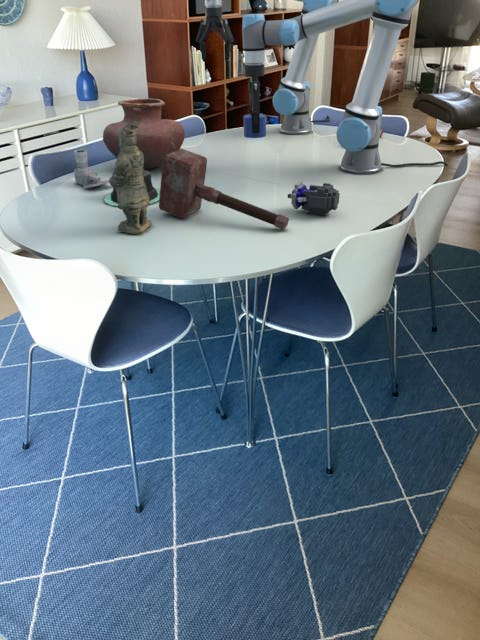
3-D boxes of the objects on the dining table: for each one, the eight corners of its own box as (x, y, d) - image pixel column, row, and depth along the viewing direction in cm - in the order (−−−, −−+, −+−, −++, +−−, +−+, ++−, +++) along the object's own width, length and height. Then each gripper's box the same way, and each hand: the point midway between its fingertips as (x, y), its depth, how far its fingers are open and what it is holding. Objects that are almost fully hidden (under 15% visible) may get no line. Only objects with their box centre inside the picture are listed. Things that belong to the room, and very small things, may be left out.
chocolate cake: (91, 202, 180) (113, 186, 197) (142, 231, 182) (160, 212, 199) (107, 162, 172) (129, 148, 190) (160, 192, 174) (177, 176, 192)
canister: (243, 138, 205) (242, 118, 201) (244, 133, 212) (243, 114, 208) (266, 137, 204) (265, 117, 201) (266, 133, 212) (266, 113, 208)
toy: (295, 178, 172) (342, 184, 166) (295, 205, 177) (340, 211, 171) (285, 186, 166) (333, 192, 160) (284, 213, 170) (331, 220, 164)
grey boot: (85, 147, 201) (110, 154, 192) (90, 179, 207) (114, 187, 198) (64, 151, 195) (89, 159, 186) (70, 184, 201) (94, 193, 193)
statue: (131, 220, 168) (117, 116, 152) (158, 224, 164) (147, 118, 149) (109, 233, 159) (93, 124, 144) (138, 237, 156) (124, 126, 140)
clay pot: (194, 158, 230) (190, 94, 217) (174, 179, 204) (168, 107, 192) (124, 156, 235) (116, 93, 222) (96, 176, 209) (85, 106, 197)
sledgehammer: (299, 190, 156) (179, 147, 167) (285, 200, 148) (161, 154, 160) (286, 244, 166) (174, 200, 177) (272, 256, 158) (156, 209, 170)
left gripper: (186, 7, 249) (189, 59, 260) (231, 6, 236) (232, 61, 247) (197, 6, 254) (199, 57, 265) (241, 6, 242) (242, 59, 252)
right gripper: (241, 61, 205) (243, 125, 216) (245, 67, 186) (246, 136, 198) (261, 60, 205) (262, 124, 216) (267, 66, 187) (267, 136, 198)
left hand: (215, 59), depth 256 cm, fingers open, 13 cm apart
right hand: (254, 130), depth 207 cm, fingers closed on canister, 8 cm apart
